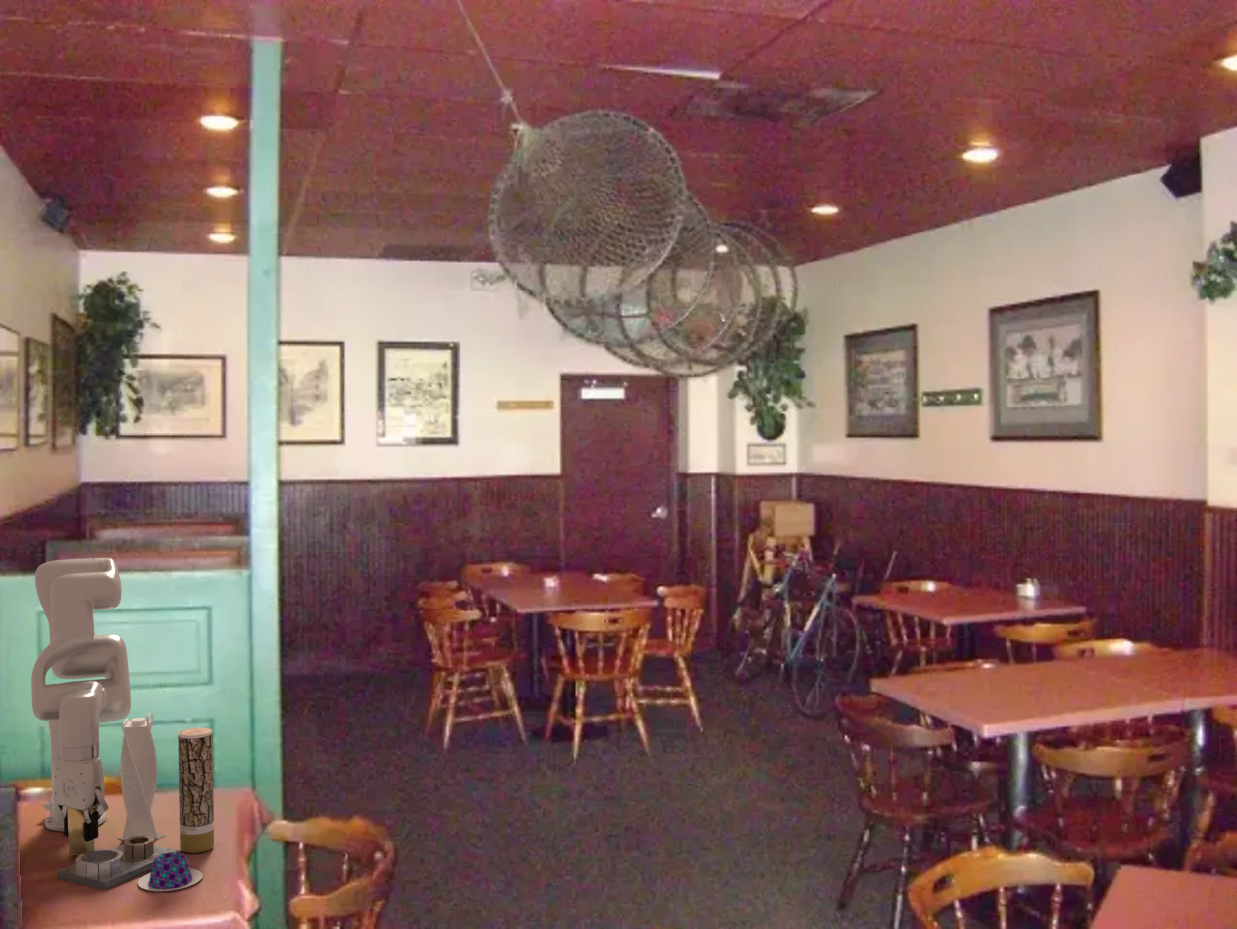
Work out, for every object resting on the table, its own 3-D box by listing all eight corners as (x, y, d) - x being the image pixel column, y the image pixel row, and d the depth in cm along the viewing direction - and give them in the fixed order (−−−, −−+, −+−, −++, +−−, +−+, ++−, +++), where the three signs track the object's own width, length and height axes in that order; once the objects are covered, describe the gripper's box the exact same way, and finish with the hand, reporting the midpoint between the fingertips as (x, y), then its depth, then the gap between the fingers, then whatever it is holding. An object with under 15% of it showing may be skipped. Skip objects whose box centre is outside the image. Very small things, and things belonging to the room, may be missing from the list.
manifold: (58, 878, 252) (57, 858, 251) (133, 847, 269) (133, 829, 268) (105, 889, 246) (105, 869, 246) (179, 857, 263) (179, 838, 263)
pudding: (147, 872, 256) (146, 846, 256) (208, 870, 257) (208, 844, 257) (130, 895, 244) (129, 869, 244) (194, 893, 245) (194, 867, 245)
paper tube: (203, 855, 264) (201, 736, 263) (173, 853, 265) (171, 735, 264) (220, 844, 271) (218, 728, 269) (191, 842, 272) (189, 726, 271)
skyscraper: (169, 839, 275) (167, 711, 273) (136, 850, 268) (133, 718, 266) (146, 831, 280) (144, 705, 278) (113, 841, 273) (110, 712, 271)
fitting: (63, 852, 263) (62, 805, 262) (82, 843, 268) (81, 797, 267) (80, 856, 261) (79, 809, 260) (100, 848, 265) (99, 801, 265)
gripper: (35, 750, 263) (37, 835, 264) (94, 763, 255) (96, 851, 257) (65, 740, 270) (67, 824, 271) (124, 752, 262) (125, 838, 264)
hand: (81, 836), depth 264 cm, fingers closed on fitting, 5 cm apart
